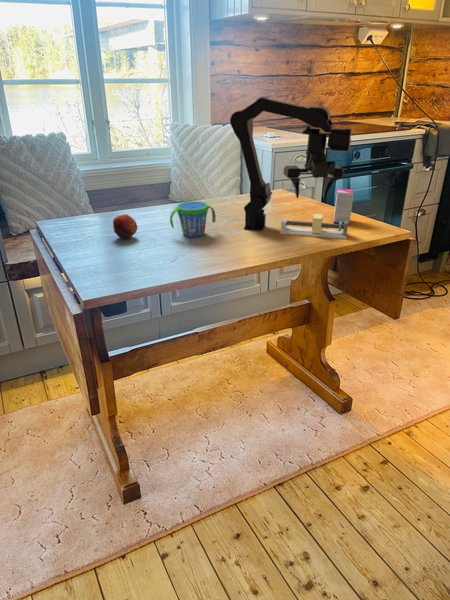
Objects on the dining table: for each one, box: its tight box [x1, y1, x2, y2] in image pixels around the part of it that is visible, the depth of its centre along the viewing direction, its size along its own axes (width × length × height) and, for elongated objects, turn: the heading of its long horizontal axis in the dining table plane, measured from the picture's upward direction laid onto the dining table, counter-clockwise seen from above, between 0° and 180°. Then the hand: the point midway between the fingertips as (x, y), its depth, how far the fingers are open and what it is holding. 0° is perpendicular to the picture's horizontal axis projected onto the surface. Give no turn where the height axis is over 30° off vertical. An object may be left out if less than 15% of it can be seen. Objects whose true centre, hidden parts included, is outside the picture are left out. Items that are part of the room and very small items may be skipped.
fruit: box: [112, 213, 138, 240], centre depth 154 cm, size 8×8×8 cm
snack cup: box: [169, 200, 217, 238], centre depth 157 cm, size 16×10×10 cm
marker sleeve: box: [311, 213, 324, 233], centre depth 157 cm, size 3×5×5 cm, turn 166°
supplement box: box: [332, 188, 355, 225], centre depth 169 cm, size 6×6×12 cm
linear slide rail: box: [280, 218, 349, 240], centre depth 158 cm, size 22×6×5 cm, turn 76°
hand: (310, 197), depth 155 cm, fingers open, 9 cm apart
